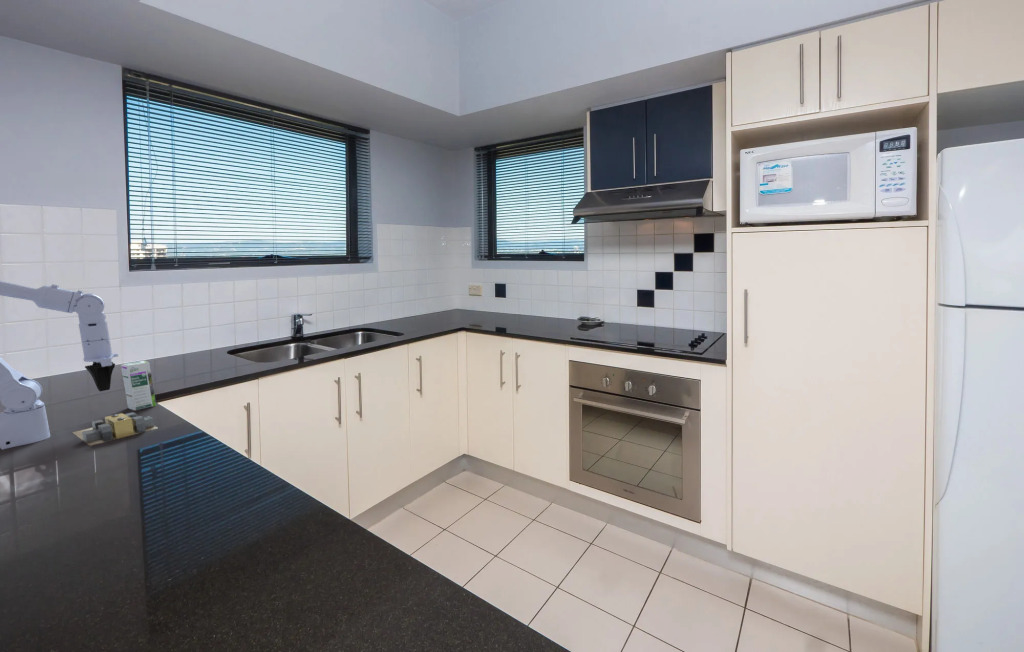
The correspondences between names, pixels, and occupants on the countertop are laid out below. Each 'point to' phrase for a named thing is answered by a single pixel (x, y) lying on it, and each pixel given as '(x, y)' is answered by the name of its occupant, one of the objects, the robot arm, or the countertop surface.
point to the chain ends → (105, 432)
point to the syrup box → (138, 385)
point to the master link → (120, 425)
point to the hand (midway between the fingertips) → (104, 390)
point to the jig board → (79, 434)
